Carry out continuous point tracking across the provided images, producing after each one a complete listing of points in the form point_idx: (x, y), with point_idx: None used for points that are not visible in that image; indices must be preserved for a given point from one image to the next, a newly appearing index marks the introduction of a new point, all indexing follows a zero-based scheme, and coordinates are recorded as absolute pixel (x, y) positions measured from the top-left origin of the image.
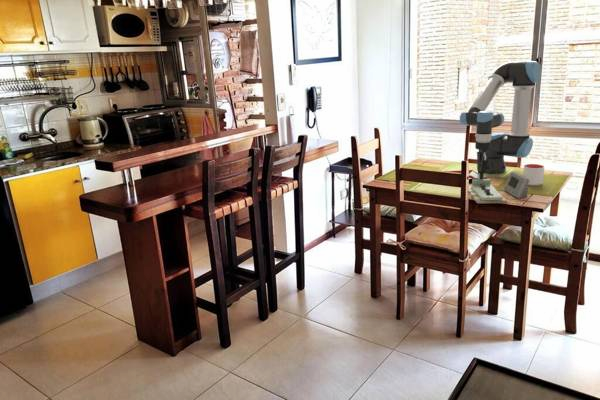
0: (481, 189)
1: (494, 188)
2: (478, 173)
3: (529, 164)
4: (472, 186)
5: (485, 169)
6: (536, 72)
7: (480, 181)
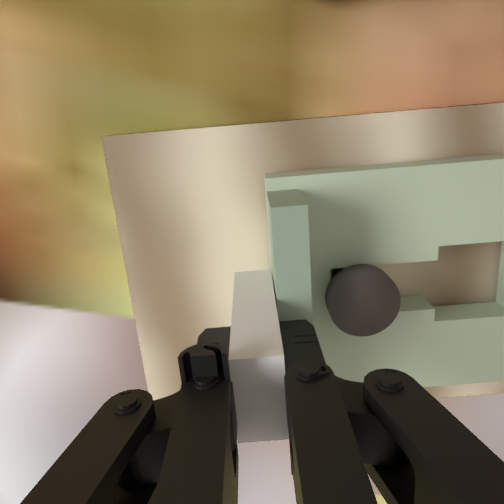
0: (429, 307)
1: (299, 125)
2: (265, 431)
3: None
4: None
5: (465, 434)
6: None
7: None
